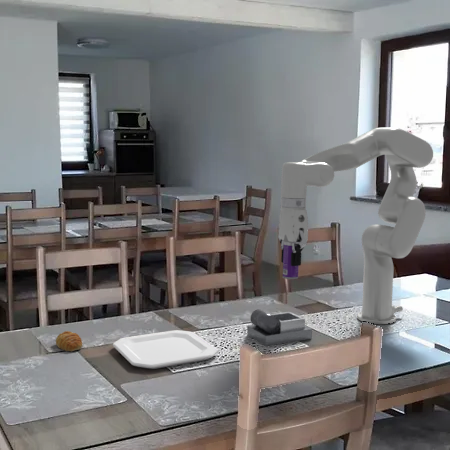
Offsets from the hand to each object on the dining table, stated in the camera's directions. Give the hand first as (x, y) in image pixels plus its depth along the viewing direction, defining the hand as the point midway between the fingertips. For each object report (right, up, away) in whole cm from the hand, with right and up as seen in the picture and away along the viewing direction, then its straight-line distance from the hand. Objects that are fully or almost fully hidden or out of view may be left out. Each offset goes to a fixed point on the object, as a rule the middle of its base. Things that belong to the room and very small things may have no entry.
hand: (290, 263), depth 185 cm
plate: (-37, -24, -15) cm, 46 cm away
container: (0, -4, +1) cm, 5 cm away
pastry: (-64, -23, -10) cm, 69 cm away
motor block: (-4, -22, 0) cm, 22 cm away
